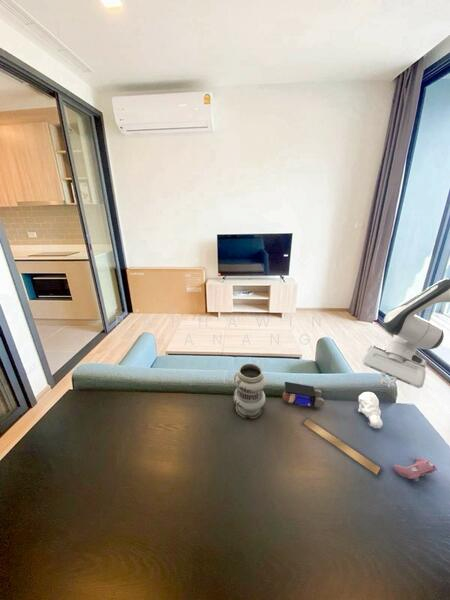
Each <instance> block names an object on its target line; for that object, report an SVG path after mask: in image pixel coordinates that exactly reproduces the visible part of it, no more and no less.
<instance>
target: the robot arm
mask: <svg viewBox="0 0 450 600" xmlns="http://www.w3.org/2000/svg"><path fill="white" fill-rule="evenodd" d="M439 303H450V278H444V279H441V280H439V281H437V282H436V283H434V284H433V285H430V286H429V287H427V288H426V289H424V290H422V291H421V292H420V293H418V294H416V295H415V296H414V297H412V298H411V299H409V300H407V301H405V302H404V303H403V304H401V305H399V306H397V307H395V308H392V309H391V310H390V311H388V312H387V313H386V315H385V316H384V317H383V320H382V322H383V326H384V329H385V330H386V332H387V333H390V334H391V335H393V336H392V339H391V340H389V343H388V345H387V347H386V348H383V347H379V346H378V345H370V346H368V348H367V350H366V353H365V354H364V356H363V358H362V364H363V365H364V366H365V367H367V368H370V369H372V370H375V371H377V372H378V373H380V378H381V380H380V383H379V384H380V385H381V386H383V387H386V388H388V389H389V388H390V387H391V385H392V384H395V383H396V382H397V380H398V381H400V382H402V383H405V384H407V385H409V386H412V387H414V388H416V389H421V388H423V386H424V384H425V380H426V373H427V372H426V371H427V370H426V368H427V361H426V360H425V359H424V358H422V357H421V356H419V355H418V354H417V349H421V350H425V351H426V350H433V349H437V348H439V346H441V344H442V343H443V340H444V330H443V329H442V328H441V327H440V326H438V325H437V324H435V323H433V322H431V321H429V320H427V319H424V318H423V317H420V316H418V314H419V313H421V312H422V311H424V310H426V309H428V308H429V307H431V306H432V305H435V304H439ZM386 376H389V377H391V380H389V381H388V380H385V377H386Z"/></svg>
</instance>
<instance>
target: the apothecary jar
mask: <svg viewBox="0 0 450 600" xmlns="http://www.w3.org/2000/svg"><path fill="white" fill-rule="evenodd" d="M233 380H234V384H235V385H236V389H235V390H234V392H233V396H232V397H233V401H234V404H235V410H236V413H237V414H238V415H239V416H240V417H242V418H244V419H248V418H249V419H251V420H252V419H255V418H257V417H259V416H261V414H262V407H263V406H264V405H265V403H266V394H265V392H264V390H263V389H264V388H265V387H266V386H267V376H266V375H265V373H264V372H263V369H262V367H260V366H259V365H257V364H255V363H245V364H242V365H241V366H240V367H239V369H238V370H237V371H236V372H235V374H234V377H233Z"/></svg>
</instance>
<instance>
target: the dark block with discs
mask: <svg viewBox="0 0 450 600" xmlns="http://www.w3.org/2000/svg"><path fill="white" fill-rule="evenodd" d="M322 396H323V392H322V391H321V390H320V389H316V388H314V386H312V385H307V384H302V383H295V382H289V381H284V392H282V400H283V401H284V402H285V403H287V404H292V403H295V404H298V405H300V406H302V407H303V406H305V407H310V408H314V409H316V408H317V407H318V408H322V407H324V406H325V404H326V403H325V400H324V398H322Z"/></svg>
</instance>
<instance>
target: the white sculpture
mask: <svg viewBox="0 0 450 600" xmlns="http://www.w3.org/2000/svg"><path fill="white" fill-rule="evenodd" d="M358 403H359V407H358V409H357V411H358V413H362V414H363V415H365V417H366V418H368V420H369V422H367V425H369V426H370V427H372V428H373V429H375V430H377V429H381V428H382V427H383V425H384V424H383V420H382V418H381V416H382V411H381V409H380V406H379V405H380V400H379V398H378V397H377V395H376V394H375V393H374V392H371V391H364V392H362V393H361V394H360V395H358Z"/></svg>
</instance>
